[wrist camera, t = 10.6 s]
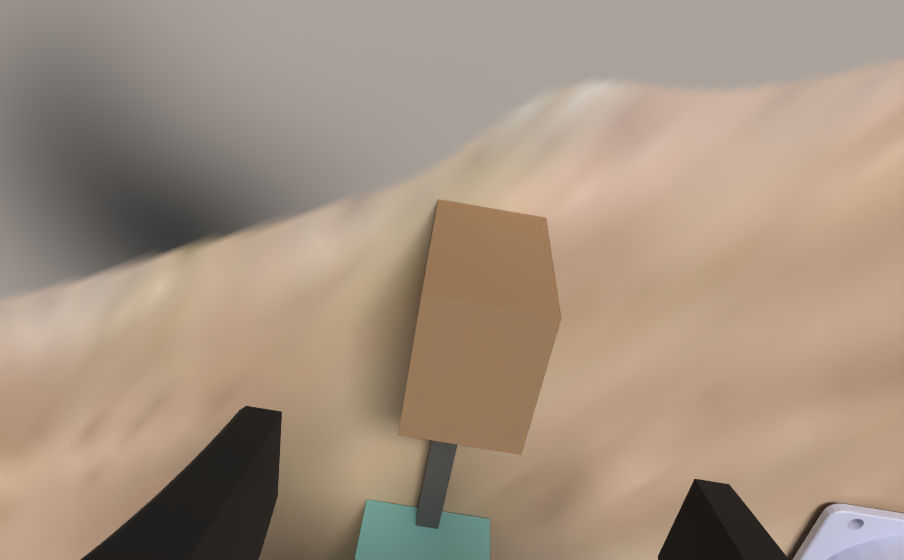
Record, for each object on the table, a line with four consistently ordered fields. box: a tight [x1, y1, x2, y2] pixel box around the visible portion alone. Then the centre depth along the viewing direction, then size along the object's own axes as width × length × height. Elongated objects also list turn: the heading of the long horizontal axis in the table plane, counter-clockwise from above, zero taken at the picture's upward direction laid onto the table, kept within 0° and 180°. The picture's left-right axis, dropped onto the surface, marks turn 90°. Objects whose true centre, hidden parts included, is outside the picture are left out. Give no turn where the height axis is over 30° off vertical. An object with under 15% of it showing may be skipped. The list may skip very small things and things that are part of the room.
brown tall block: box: [355, 200, 561, 560], centre depth 21 cm, size 4×17×5 cm, turn 171°
